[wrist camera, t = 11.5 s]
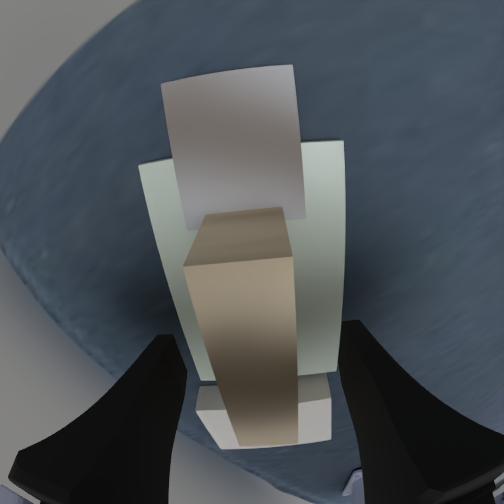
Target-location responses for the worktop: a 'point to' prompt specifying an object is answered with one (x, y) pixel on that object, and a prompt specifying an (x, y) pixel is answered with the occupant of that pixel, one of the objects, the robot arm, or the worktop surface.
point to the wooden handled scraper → (243, 236)
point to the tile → (309, 413)
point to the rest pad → (302, 245)
